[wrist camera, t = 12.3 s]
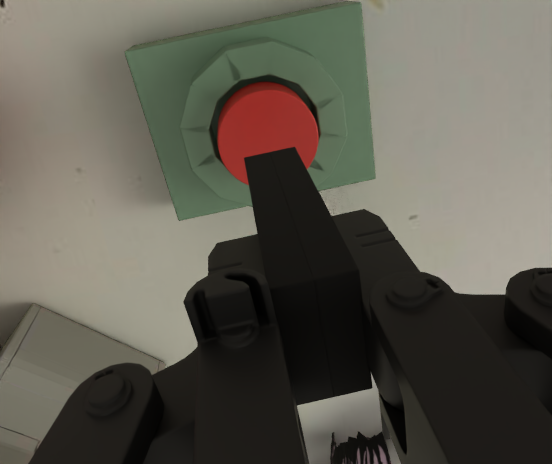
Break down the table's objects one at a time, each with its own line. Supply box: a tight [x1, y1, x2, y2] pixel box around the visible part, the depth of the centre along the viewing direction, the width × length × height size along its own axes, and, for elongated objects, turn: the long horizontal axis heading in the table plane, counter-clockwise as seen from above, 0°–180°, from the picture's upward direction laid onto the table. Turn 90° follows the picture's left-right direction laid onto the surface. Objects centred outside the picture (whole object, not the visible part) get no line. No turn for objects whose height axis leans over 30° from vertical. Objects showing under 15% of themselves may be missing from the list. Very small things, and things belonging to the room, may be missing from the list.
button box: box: [125, 1, 375, 221], centre depth 21 cm, size 10×8×4 cm
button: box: [217, 82, 319, 185], centre depth 19 cm, size 4×4×2 cm
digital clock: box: [0, 304, 165, 464], centre depth 25 cm, size 16×9×11 cm, turn 40°
